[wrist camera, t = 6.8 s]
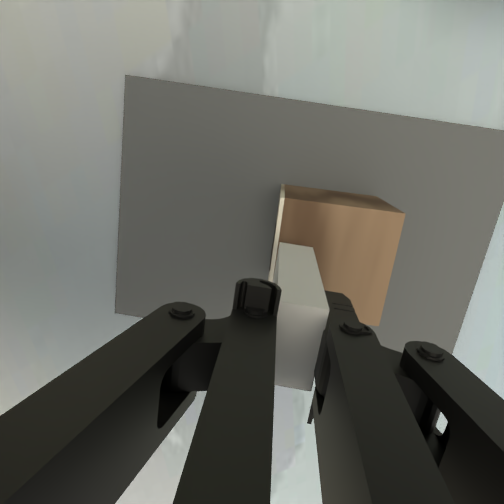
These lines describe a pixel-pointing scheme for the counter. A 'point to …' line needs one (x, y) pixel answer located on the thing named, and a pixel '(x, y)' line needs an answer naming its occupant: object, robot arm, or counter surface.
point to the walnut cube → (343, 242)
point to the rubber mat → (305, 175)
